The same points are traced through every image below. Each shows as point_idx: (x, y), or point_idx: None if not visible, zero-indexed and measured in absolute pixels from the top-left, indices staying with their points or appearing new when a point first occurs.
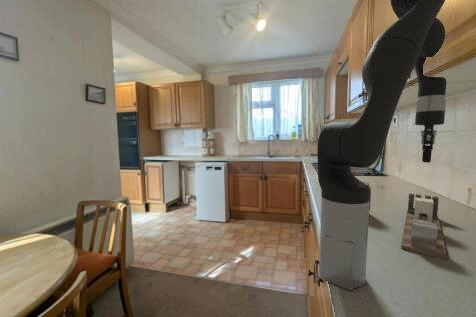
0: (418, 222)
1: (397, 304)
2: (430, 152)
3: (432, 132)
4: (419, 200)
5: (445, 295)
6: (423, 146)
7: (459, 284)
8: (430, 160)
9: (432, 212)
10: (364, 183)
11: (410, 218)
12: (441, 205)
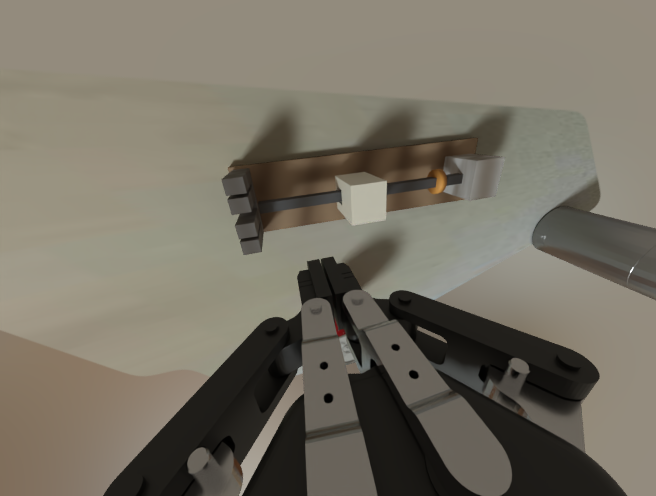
0: (483, 189)
1: (586, 173)
2: (349, 291)
3: (559, 438)
4: (383, 211)
5: (562, 135)
6: (429, 341)
7: (536, 121)
8: (334, 260)
9: (374, 176)
10: (341, 344)
11: (311, 215)
12: (26, 168)
